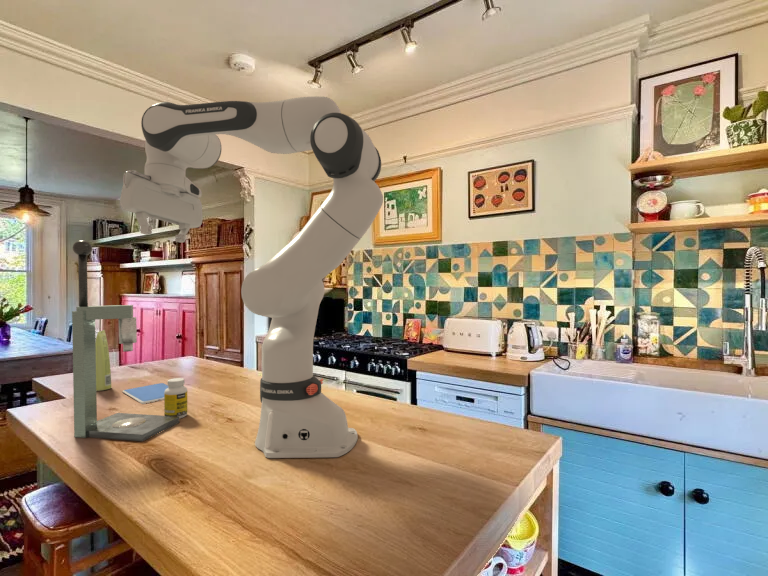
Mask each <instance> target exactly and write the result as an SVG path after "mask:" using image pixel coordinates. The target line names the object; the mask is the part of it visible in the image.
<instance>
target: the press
mask: <svg viewBox="0 0 768 576" xmlns="http://www.w3.org/2000/svg"><path fill="white" fill-rule="evenodd" d="M72 250H73V252H74V253H75V255H77V260H78V262H77V263H78V306H76V310H72V311H71V321H72V322H71V326H72V327H71V328H72V329H71V330H72V333H71V334H72V375H73V376H72V380H73V381H72V382H73V385H72V387H73V421H74V422H73V429H74V430H73V433H74V434H73V435H74V438H78V439H79V438H81V439H87V438H93V439H95V438H96V439H105V440H118V441H119V440H120V441H135V442H144V441H146V440H149V439H150V438H152V437H154V436H156V435H158V434H160V433H162V432H164V431H166V430H168V429H170V428H171V427H174V426H175V425H178V424H179V423H180V418H179V417H176V416H164V415H159V414H158V415H157V414H142V413H138V414H137V413H129V412H128V413H127V412H115V413H114V414H111V415H109V416H107V417H103V418H100V419H98V413H97V409H98V407H97V391H96V320H115V319H118V344H120V345H122V351H123V352H125V353H126V352H132V351H134V344H136V343H137V341H138V340H137V339H138V338H137V333H138V331H137V317H136V316H134V304H124V305H122V304H119V305H118V304H116V305H115V304H114V305H113V304H111V305H89V303H88V300H89V293H88V256H89V255H90V254H91V253H92V252H93V246H92V244H91V243H90V242H88V241H87V240H77V241H75V242H74V243H73V244H72ZM163 430H164V431H163ZM161 431H162V432H161ZM159 432H160V433H159ZM157 433H158V434H157ZM155 434H156V435H155ZM153 435H154V436H153ZM151 436H152V437H151Z"/></svg>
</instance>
